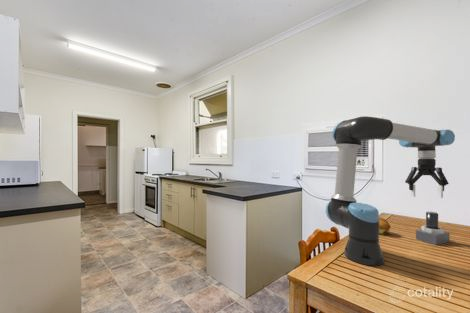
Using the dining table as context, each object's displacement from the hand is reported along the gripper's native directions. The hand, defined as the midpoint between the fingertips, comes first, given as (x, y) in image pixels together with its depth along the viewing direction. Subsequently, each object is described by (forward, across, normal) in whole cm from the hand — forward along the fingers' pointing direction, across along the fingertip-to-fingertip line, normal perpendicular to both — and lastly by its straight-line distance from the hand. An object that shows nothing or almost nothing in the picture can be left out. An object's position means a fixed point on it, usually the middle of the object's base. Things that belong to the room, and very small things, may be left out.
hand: (426, 196), depth 122 cm
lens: (+19, -2, +1) cm, 19 cm away
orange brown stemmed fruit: (+24, +19, -9) cm, 32 cm away
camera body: (+24, -3, +1) cm, 24 cm away
